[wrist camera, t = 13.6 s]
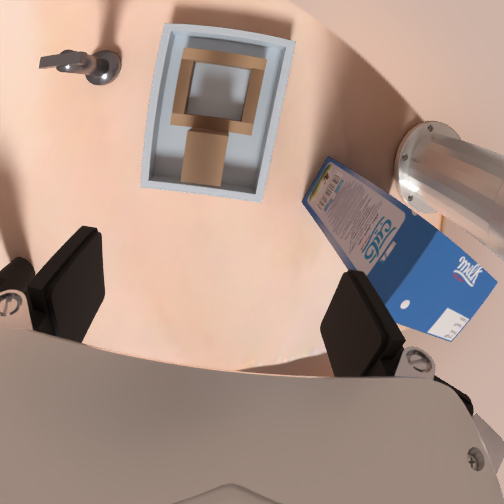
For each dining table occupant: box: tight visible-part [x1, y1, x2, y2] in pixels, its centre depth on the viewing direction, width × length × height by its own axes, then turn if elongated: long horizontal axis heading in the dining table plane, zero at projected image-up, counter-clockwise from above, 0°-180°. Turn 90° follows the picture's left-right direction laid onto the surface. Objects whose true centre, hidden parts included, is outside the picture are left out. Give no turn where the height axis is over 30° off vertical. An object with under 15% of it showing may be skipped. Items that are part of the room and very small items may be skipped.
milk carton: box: [302, 156, 497, 342], centre depth 25 cm, size 10×6×20 cm, turn 63°
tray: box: [141, 23, 296, 203], centre depth 26 cm, size 13×17×3 cm
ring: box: [170, 48, 267, 186], centre depth 25 cm, size 8×12×6 cm, turn 169°
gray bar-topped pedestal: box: [39, 50, 121, 85], centre depth 19 cm, size 4×4×10 cm
